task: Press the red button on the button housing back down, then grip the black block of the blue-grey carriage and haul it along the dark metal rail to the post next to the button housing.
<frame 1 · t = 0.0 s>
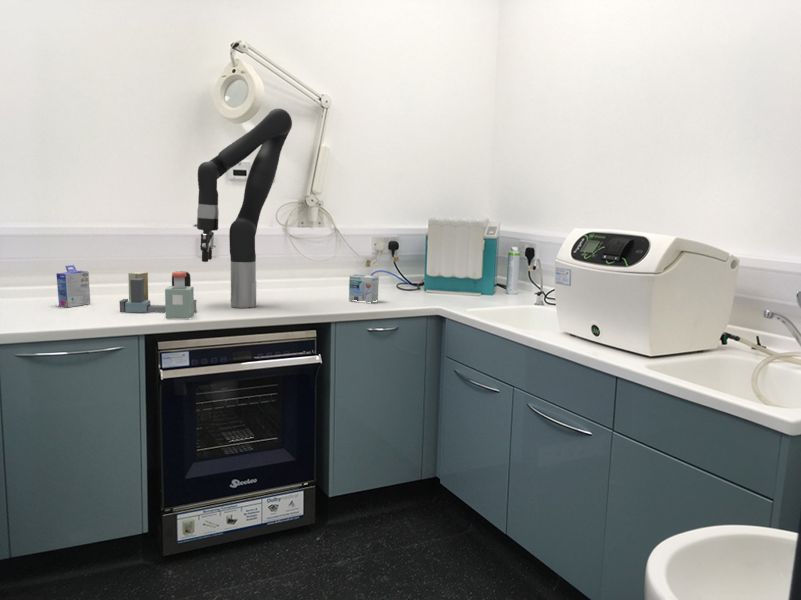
hand: (206, 260, 241), 17 cm above the worktop, tool pointing down, fingers open, 8 cm apart
carriage: (137, 294, 228), point 6 cm above the worktop, slide at 0.0 cm
skincare box: (139, 305, 241), on the worktop
rail: (158, 311, 229), on the worktop
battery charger: (181, 300, 254), on the worktop
button housing: (180, 316, 222), on the worktop
light bulb box: (363, 302, 267), on the worktop
ink cartridge box: (74, 305, 236), on the worktop
red button: (179, 287, 220), point 10 cm above the worktop, slide at 0.0 cm
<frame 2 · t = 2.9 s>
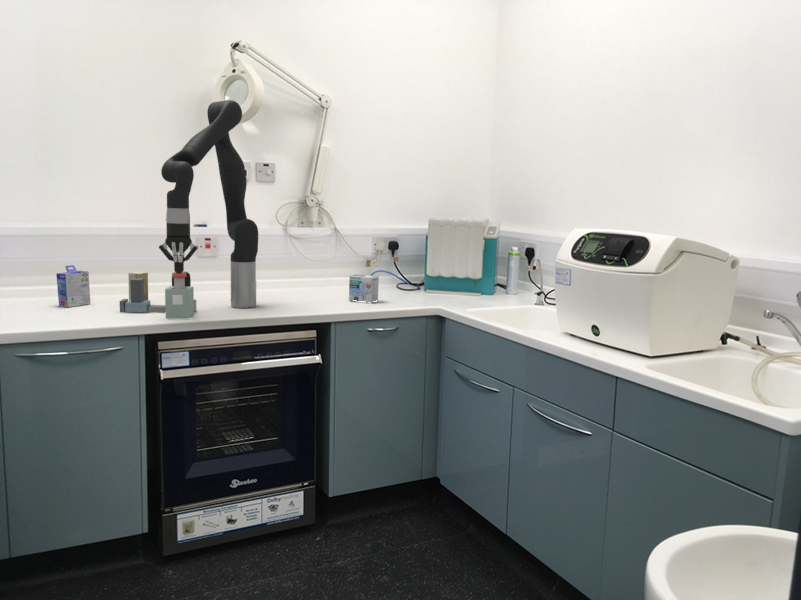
hand: (179, 273, 219), 15 cm above the worktop, tool pointing down, fingers closed
red button: (179, 288, 220), point 10 cm above the worktop, slide at 0.1 cm, touching gripper
everything else where it was.
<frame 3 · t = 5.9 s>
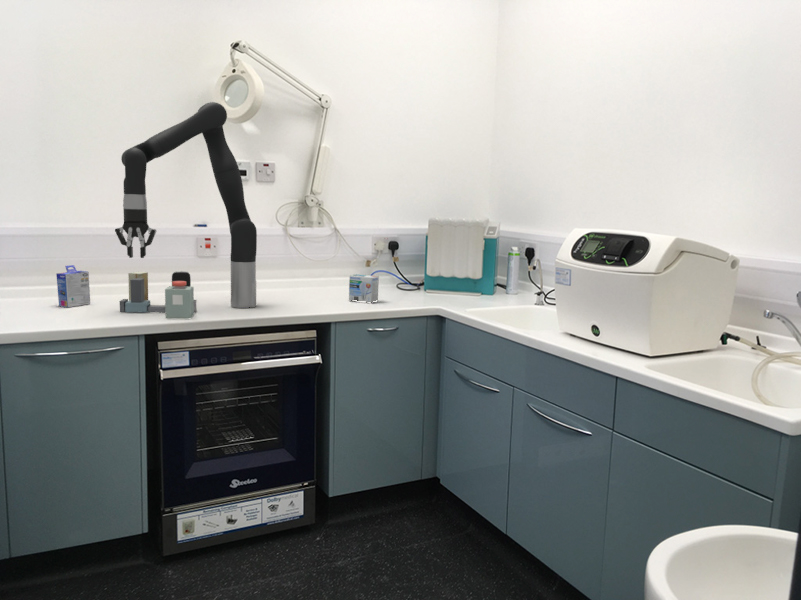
hand: (136, 257, 225), 19 cm above the worktop, tool pointing down, fingers open, 3 cm apart
red button: (179, 296, 221), point 7 cm above the worktop, slide at 3.1 cm
everything else where it was.
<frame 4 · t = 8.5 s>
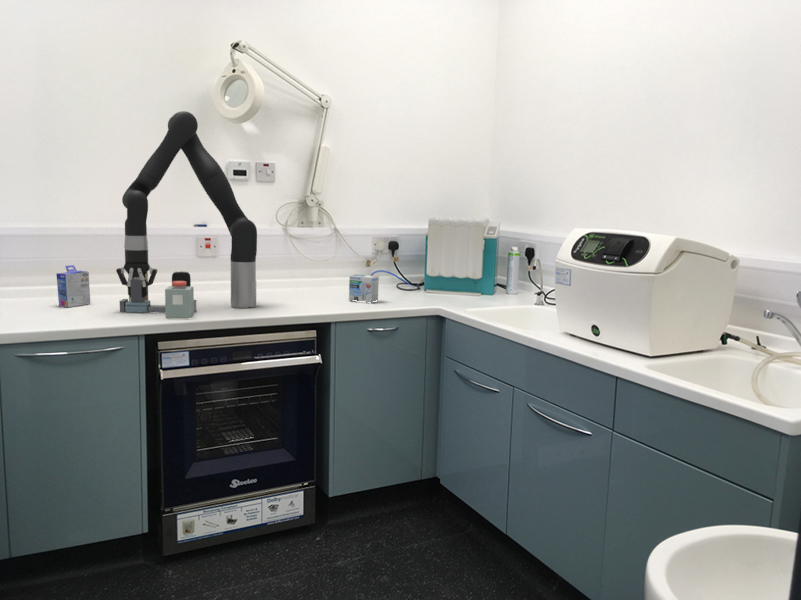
hand: (137, 296, 228), 5 cm above the worktop, tool pointing down, fingers closed on carriage, 3 cm apart
carriage: (137, 294, 228), point 6 cm above the worktop, slide at 0.0 cm, touching gripper
everything else where it was.
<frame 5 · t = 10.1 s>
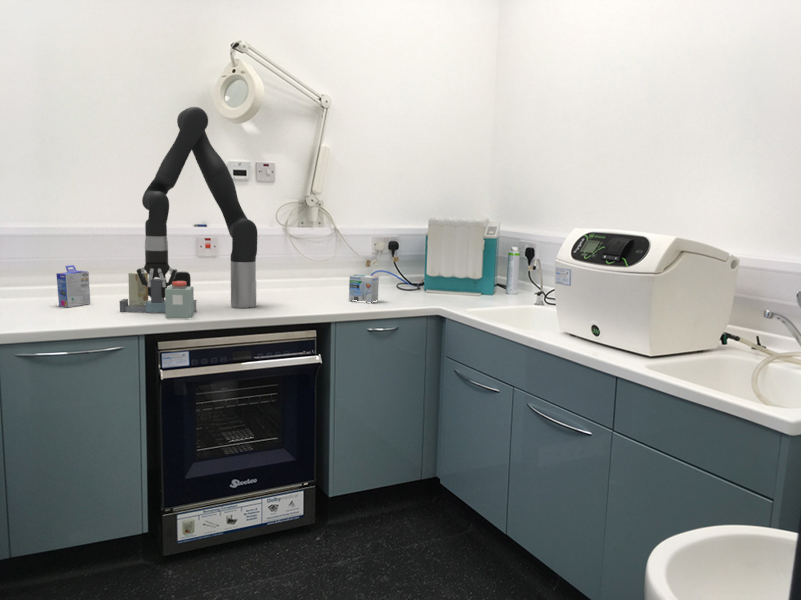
hand: (157, 297, 229), 5 cm above the worktop, tool pointing down, fingers closed on carriage, 3 cm apart
carriage: (157, 295, 228), point 6 cm above the worktop, slide at 6.8 cm, touching gripper
everything else where it was.
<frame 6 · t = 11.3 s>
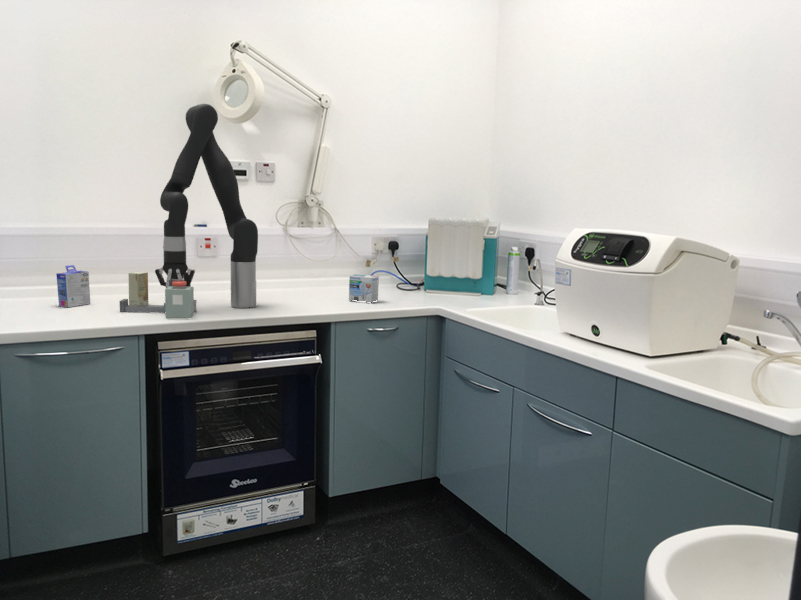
hand: (175, 297, 229), 5 cm above the worktop, tool pointing down, fingers closed on carriage, 3 cm apart
carriage: (175, 295, 229), point 6 cm above the worktop, slide at 12.9 cm, touching gripper
everything else where it was.
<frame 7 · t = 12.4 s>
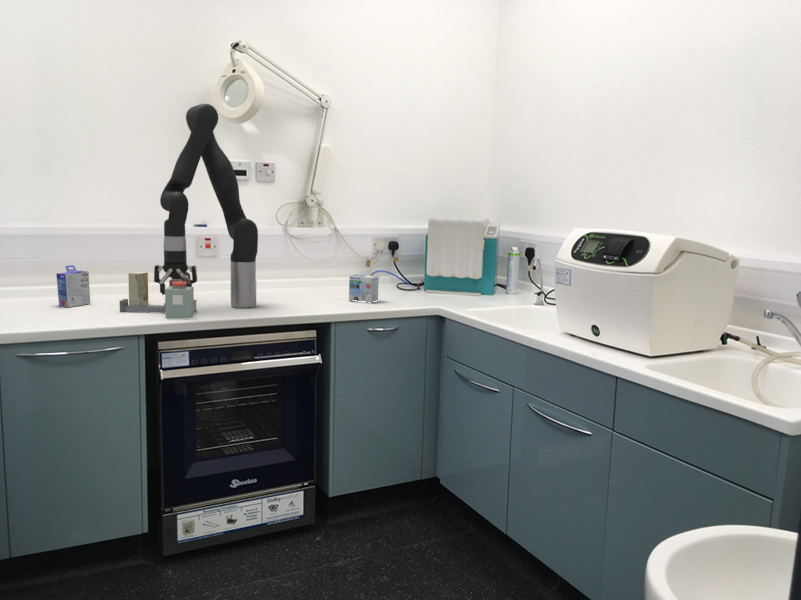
hand: (176, 294, 229), 6 cm above the worktop, tool pointing down, fingers open, 8 cm apart
carriage: (176, 295, 229), point 6 cm above the worktop, slide at 13.0 cm
everything else where it was.
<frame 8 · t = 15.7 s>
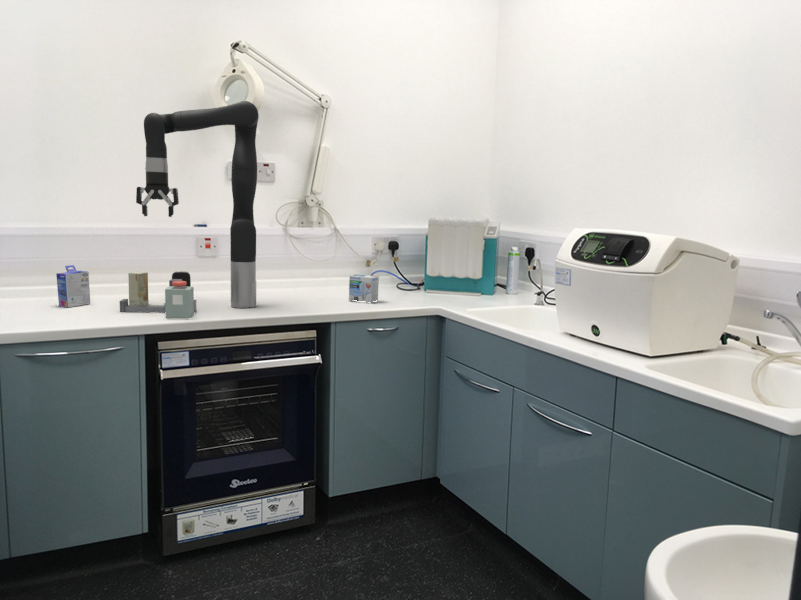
hand: (157, 216, 235), 33 cm above the worktop, tool pointing down, fingers open, 8 cm apart
nothing on the worktop moved.
at the end: red button slide at 3.1 cm; carriage slide at 13.0 cm; the gripper is holding nothing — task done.
